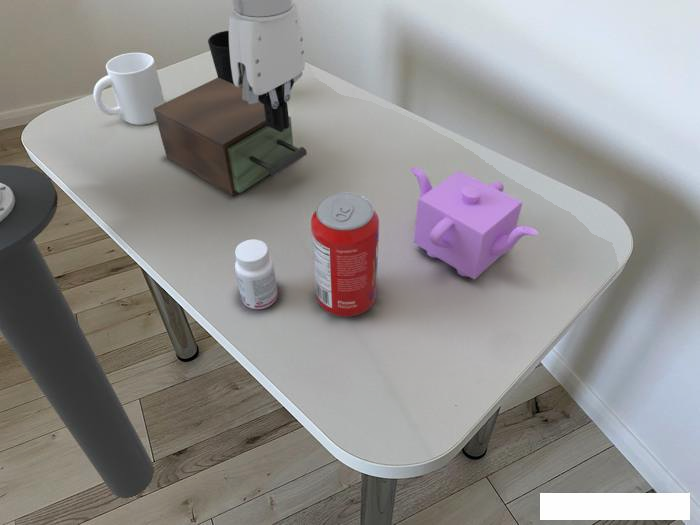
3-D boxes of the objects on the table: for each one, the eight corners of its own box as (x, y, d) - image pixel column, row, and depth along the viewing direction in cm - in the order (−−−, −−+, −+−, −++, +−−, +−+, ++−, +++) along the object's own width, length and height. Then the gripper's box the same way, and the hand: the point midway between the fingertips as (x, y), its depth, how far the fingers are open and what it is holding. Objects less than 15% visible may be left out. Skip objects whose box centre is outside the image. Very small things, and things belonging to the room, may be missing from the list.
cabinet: (292, 158, 98) (287, 107, 91) (232, 196, 91) (222, 144, 84) (226, 126, 106) (218, 77, 99) (167, 158, 98) (153, 108, 92)
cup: (219, 110, 110) (208, 49, 101) (217, 91, 115) (207, 32, 107) (260, 106, 111) (252, 45, 102) (256, 87, 116) (248, 28, 108)
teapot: (509, 222, 86) (523, 161, 78) (523, 288, 76) (541, 226, 69) (406, 219, 86) (411, 159, 79) (407, 284, 77) (413, 222, 69)
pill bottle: (282, 286, 77) (276, 240, 71) (271, 313, 74) (263, 266, 68) (248, 281, 78) (240, 234, 72) (236, 307, 74) (225, 260, 68)
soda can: (306, 311, 74) (298, 222, 63) (329, 270, 79) (325, 182, 68) (364, 328, 72) (366, 239, 61) (384, 284, 77) (388, 196, 66)
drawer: (319, 170, 94) (317, 129, 89) (265, 207, 87) (259, 165, 82) (232, 127, 104) (225, 87, 98) (177, 157, 97) (166, 116, 92)
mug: (110, 137, 103) (92, 84, 96) (96, 117, 108) (78, 65, 101) (173, 117, 108) (160, 65, 101) (158, 99, 113) (144, 48, 106)
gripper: (283, -25, 78) (294, 99, 91) (196, 9, 70) (222, 140, 82) (324, -13, 74) (330, 114, 87) (239, 25, 66) (259, 158, 79)
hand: (278, 126), depth 85 cm, fingers closed
